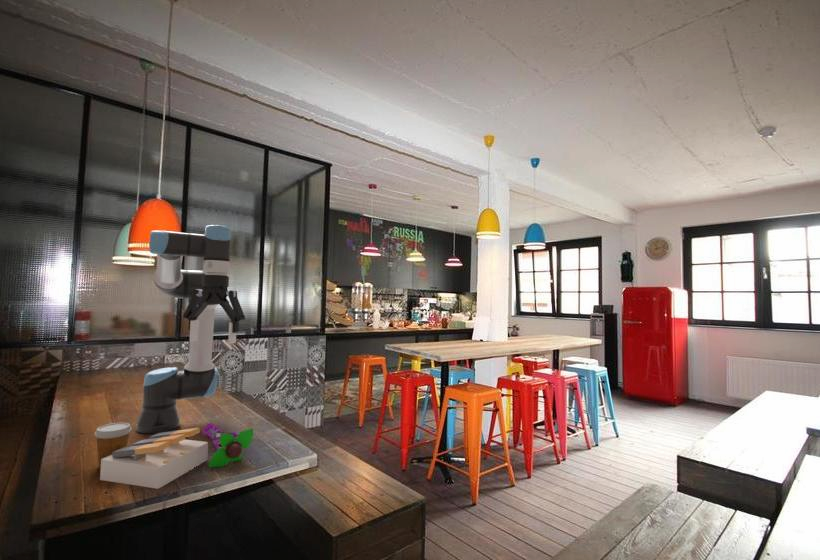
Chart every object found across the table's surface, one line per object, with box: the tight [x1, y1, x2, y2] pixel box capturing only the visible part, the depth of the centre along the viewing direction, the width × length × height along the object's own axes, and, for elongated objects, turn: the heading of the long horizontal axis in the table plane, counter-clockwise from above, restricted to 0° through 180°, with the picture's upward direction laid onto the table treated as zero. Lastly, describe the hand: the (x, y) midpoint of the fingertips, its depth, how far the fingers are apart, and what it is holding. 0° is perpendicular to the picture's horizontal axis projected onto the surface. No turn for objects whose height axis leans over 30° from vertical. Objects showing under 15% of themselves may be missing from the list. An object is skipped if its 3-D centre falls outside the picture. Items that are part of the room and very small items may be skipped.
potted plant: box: [202, 422, 254, 468], centre depth 142 cm, size 12×16×35 cm
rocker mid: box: [130, 434, 186, 447], centre depth 125 cm, size 16×4×2 cm, turn 79°
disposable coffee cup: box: [94, 422, 133, 469], centre depth 127 cm, size 10×10×12 cm
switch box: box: [99, 438, 209, 489], centre depth 125 cm, size 20×20×8 cm
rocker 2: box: [148, 427, 201, 439], centre depth 132 cm, size 16×4×2 cm, turn 79°
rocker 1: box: [112, 441, 169, 458], centre depth 119 cm, size 16×4×2 cm, turn 79°
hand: (212, 342), depth 125 cm, fingers open, 13 cm apart
